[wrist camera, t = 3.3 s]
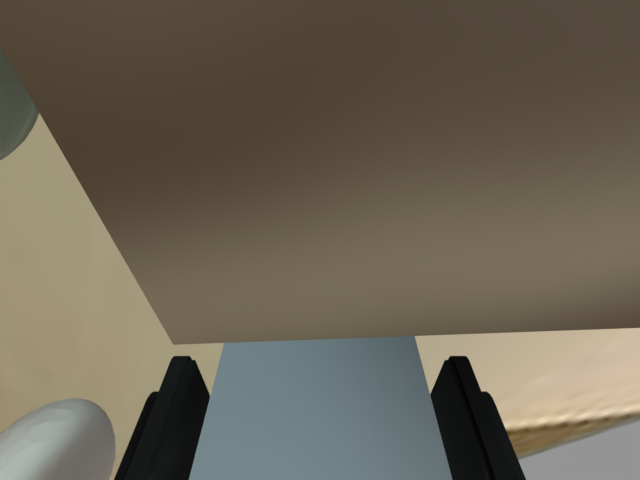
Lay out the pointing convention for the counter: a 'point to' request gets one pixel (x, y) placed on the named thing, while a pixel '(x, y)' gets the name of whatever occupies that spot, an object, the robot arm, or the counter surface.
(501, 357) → the counter surface
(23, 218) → the counter surface
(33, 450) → the egg
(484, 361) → the counter surface
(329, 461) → the grey cube
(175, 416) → the robot arm
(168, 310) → the walnut block
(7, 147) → the can
